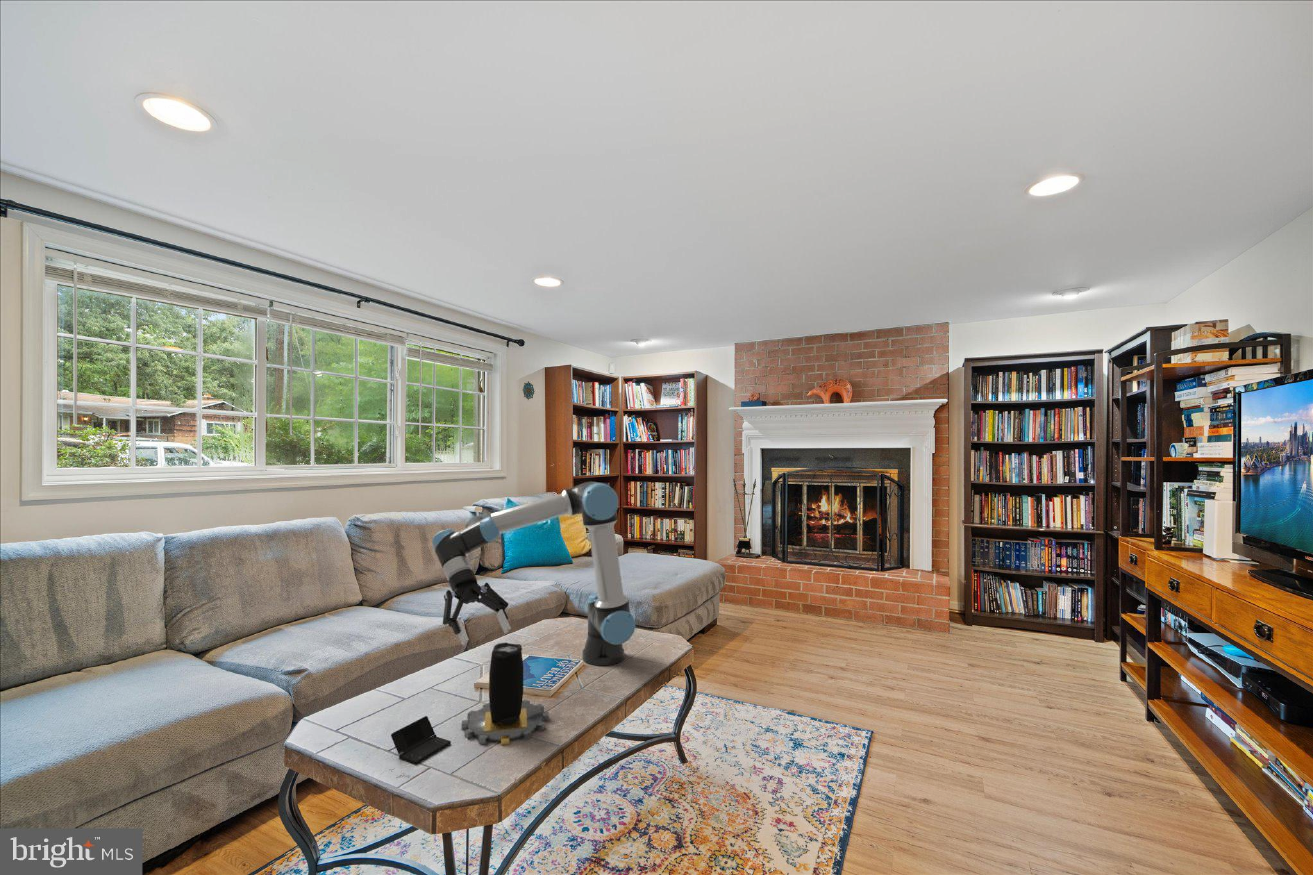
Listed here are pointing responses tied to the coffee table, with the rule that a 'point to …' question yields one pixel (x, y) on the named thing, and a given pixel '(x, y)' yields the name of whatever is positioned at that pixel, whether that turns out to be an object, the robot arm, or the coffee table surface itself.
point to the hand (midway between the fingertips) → (487, 636)
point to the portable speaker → (506, 683)
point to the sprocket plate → (497, 732)
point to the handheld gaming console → (418, 741)
